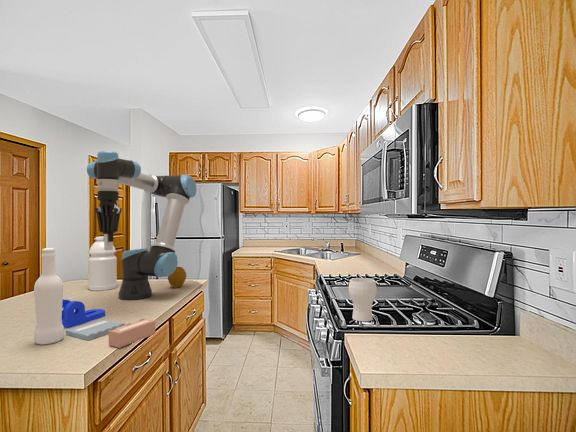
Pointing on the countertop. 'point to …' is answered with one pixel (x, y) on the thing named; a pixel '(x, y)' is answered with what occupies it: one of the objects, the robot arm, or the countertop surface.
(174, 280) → the apple
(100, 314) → the bracket
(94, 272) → the bottle
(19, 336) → the countertop surface
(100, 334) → the ticket
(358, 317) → the cup
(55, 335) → the bottle
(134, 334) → the stub
